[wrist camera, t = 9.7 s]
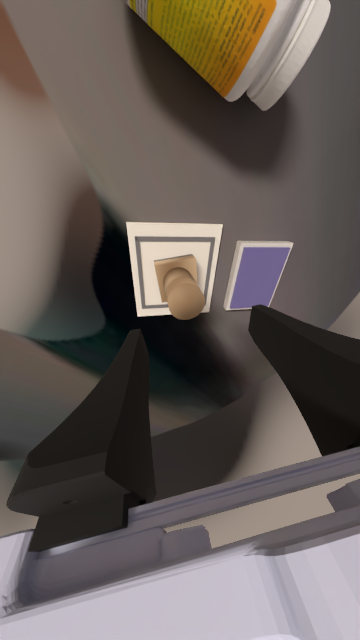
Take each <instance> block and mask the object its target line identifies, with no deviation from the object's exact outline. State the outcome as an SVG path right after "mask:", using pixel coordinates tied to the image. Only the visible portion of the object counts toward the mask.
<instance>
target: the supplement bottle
mask: <svg viewBox="0 0 360 640" xmlns="http://www.w3.org/2000/svg"><path fill="white" fill-rule="evenodd" d="M123 1H124V2H125V3H126V4H127V5H128V6H129V7H130V8H131V9H132V10H133V11H134V12H135V13H137V14H138V15H139V16H140V17H141V18H142V19H143V20H144V21H145V22H146V23H147V24H148V25H149V26H150V27H151V28H152V29H153V30H154V31H155V32H156V33H157V34H158V35H159V36H160V37H161V38H162V39H163V40H164V41H165V42H166V43H167V44H168V45H169V46H171V47H172V48H173V49H174V50H175V51H176V52H177V53H178V54H179V55H180V56H181V57H182V58H183V59H184V60H185V61H186V62H187V63H188V64H189V65H190V66H191V67H192V68H193V69H194V70H195V71H196V72H197V73H198V74H199V75H200V76H202V77H203V78H204V79H205V80H206V81H207V82H208V83H209V84H210V85H211V86H212V87H213V88H214V89H215V90H216V91H217V92H218V93H219V94H220V95H221V96H222V97H223V98H225V99H226V100H227V101H229V102H233V101H235V100H237V99H238V98H240V97H241V96H242V95H243V93H244V92H245V91H246V90H247V96H248V97H249V98H250V100H251V101H252V102H254V103H255V104H256V105H257V106H258V107H259V108H260V109H261V110H263V111H266V110H268V109H269V108H270V107H272V106H273V105H274V104H275V103H276V102H277V101H278V99H279V98H280V97H281V96H282V95H283V94H284V92H285V91H286V90H287V89H288V87H289V86H290V84H291V83H292V82H293V80H294V79H295V77H296V76H297V74H298V73H299V71H300V70H301V68H302V67H303V65H304V64H305V62H306V61H307V59H308V57H309V56H310V54H311V52H312V50H313V49H314V47H315V45H316V43H317V41H318V39H319V37H320V35H321V33H322V31H323V29H324V27H325V25H326V22H327V20H328V17H329V13H330V2H329V0H123Z"/></svg>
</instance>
